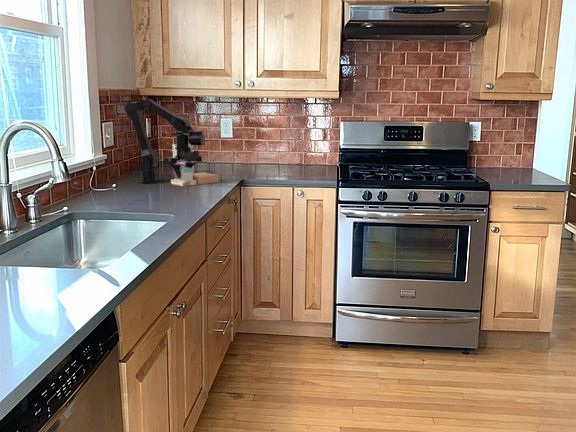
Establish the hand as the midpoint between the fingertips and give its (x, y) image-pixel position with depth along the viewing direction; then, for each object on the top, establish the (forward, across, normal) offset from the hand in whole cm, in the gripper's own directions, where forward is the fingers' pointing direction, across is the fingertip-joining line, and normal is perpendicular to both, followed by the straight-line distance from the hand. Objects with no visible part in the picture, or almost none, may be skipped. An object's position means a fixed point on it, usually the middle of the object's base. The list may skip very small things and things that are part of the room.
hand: (183, 177), depth 275 cm
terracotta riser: (+3, +11, 0) cm, 11 cm away
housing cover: (-3, 0, 0) cm, 3 cm away
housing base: (+1, 0, 0) cm, 1 cm away
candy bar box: (+4, +17, +25) cm, 30 cm away
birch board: (+3, 0, 0) cm, 3 cm away
